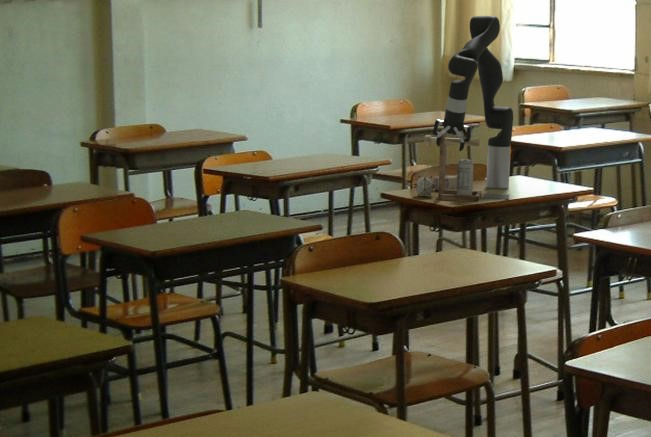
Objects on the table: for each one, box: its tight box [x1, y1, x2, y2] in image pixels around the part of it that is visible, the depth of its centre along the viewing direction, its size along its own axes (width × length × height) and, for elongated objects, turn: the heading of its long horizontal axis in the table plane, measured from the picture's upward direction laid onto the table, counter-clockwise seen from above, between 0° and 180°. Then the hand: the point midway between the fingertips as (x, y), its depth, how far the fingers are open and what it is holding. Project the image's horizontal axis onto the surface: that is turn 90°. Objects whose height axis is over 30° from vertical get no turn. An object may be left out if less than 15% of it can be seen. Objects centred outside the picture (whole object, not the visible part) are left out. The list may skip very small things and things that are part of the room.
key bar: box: [423, 134, 481, 147], centre depth 472 cm, size 4×21×4 cm, turn 79°
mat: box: [482, 193, 510, 201], centre depth 479 cm, size 10×10×1 cm
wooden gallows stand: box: [437, 132, 482, 202], centre depth 473 cm, size 13×16×26 cm
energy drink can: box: [456, 158, 474, 196], centre depth 474 cm, size 6×6×15 cm
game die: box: [413, 175, 435, 198], centre depth 478 cm, size 9×8×10 cm
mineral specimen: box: [433, 174, 457, 191], centre depth 495 cm, size 13×7×6 cm, turn 111°
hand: (449, 148), depth 465 cm, fingers open, 8 cm apart
